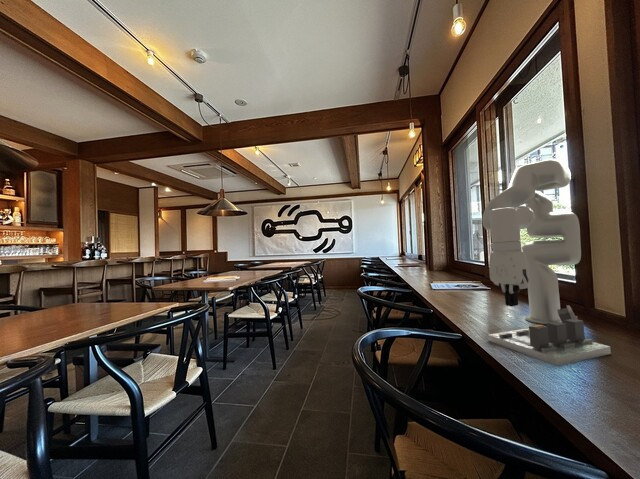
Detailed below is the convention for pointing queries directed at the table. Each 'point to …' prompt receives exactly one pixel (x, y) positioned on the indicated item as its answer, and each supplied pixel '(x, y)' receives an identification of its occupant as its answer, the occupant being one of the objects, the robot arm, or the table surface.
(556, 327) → the handle middle
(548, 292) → the robot arm
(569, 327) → the handle near
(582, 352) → the panel
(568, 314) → the electrical switch
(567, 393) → the table surface
